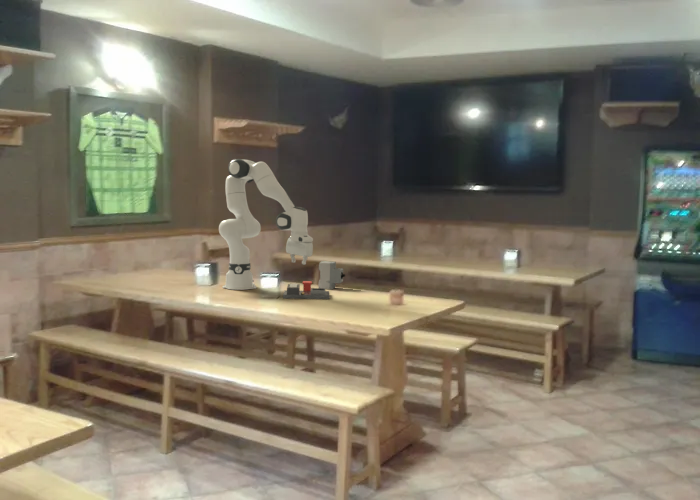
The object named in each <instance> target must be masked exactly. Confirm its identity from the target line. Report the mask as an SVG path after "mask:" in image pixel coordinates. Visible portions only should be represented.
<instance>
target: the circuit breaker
mask: <svg viewBox="0 0 700 500" xmlns="http://www.w3.org/2000/svg"><path fill="white" fill-rule="evenodd" d="M318 271H319V272H320V273H319V274H320V275H319V280H318V288H325V290H334V289H336V284H341V283H343V281H344V277H346V274H345V273H344V268H337V262H336V261H327V260H325V261H324V260H321V261H320V262H319V264H318Z"/></svg>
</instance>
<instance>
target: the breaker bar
mask: <svg viewBox="0 0 700 500" xmlns="http://www.w3.org/2000/svg"><path fill="white" fill-rule="evenodd" d="M289 284H290V286H289V288H298V283H289Z"/></svg>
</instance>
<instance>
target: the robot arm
mask: <svg viewBox="0 0 700 500" xmlns="http://www.w3.org/2000/svg"><path fill="white" fill-rule="evenodd" d="M227 170H228V173H229V175H228V176H226V178H225V186H224V187H225V197H226V199H225V200H226V206H227V209H228V210H229V212H230V213H232V214H233V215H234V216H235V218H228V219H225V220H222V221H220V223H219V225H218V232H219V235H220V236H221V237H222V238H223V239H224V241H226V243H227V246H228V250H229V263H228V272H226V273H225V284H224V285H222V288H223V289H228V290H233V291H235V290H236V291H237V290H238V291H240V290H242V291H243V290H253V289H255V290H256V289H257V285H256V284H255V279H254V274H253V273H252V271H251V262H250V260H251V255H250V254H251V251H250V248H249V247H248V246H247V245H245V244H244V241H243V239H251V238H252V239H253V238H255V237H257V236H259V235H260V233H261V230H262V226H261V223H260V222H259V221H258V220H257V219H256V218H255V217H254V215H253V214H252V213H251V211H250V207H249V205H248V201H247V193H246V183H248V184H249V183H251V182H253V181H254V183H255V184H256V188H257V189H258V191H259V192H260V193H261V194H262V196H264V197H267V198H269V199H272V200H274V201H277V202H278V203H279V204H280V205H281V207H282V208H283V210H284V211H283V212H280V213H279V214H278V215H277V216H276V218H275V224H276V227H277V228H278V230H280V231H290V236H289V237H288V238H287V241H286V246H285V252H286V254H290V255H289V256H290V259H291V263H296V261H297V259H296V258H295V256H300V257H302V260H301V265H306V264H307V261H308V257H309V258H310V257H312V256H313V253H314V245H313V244H314V243H313V241H314V238H313V237H312V236H310V235H309V233H308V232H309V231H308V226H309V225H308V224H309V216H308V215H309V214H308V210H307V209H306V208H305V207H301V206H296V205H295V203H294V202H293V200H292V198H291V197H290V195H289V194H288V192H287V191H286V190H285V189H284V187H282V186H281V184H280V183H279V181H278V179H277V178H276V176H275V173H274V172H273V171H272V169H271V168H270V166H269V165H268V164H267V163H266V162H264V161H257V162H256V161H254V160H250V159H241V158H237V159H236V158H234V159H232V160H231V161H230V162H229V163H228V167H227Z"/></svg>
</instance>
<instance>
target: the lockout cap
mask: <svg viewBox="0 0 700 500" xmlns="http://www.w3.org/2000/svg"><path fill="white" fill-rule="evenodd" d="M312 284H313V282H312V280H311V281H309V280H303V281H302V286H303V288H302V289H303V290H302V291H311V288H312Z"/></svg>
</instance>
